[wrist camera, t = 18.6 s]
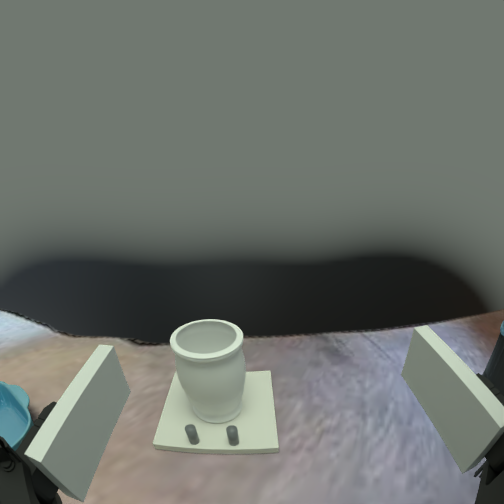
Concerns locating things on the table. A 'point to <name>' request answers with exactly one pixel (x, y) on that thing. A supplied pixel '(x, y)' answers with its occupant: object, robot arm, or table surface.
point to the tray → (221, 434)
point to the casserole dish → (14, 414)
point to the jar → (211, 367)
